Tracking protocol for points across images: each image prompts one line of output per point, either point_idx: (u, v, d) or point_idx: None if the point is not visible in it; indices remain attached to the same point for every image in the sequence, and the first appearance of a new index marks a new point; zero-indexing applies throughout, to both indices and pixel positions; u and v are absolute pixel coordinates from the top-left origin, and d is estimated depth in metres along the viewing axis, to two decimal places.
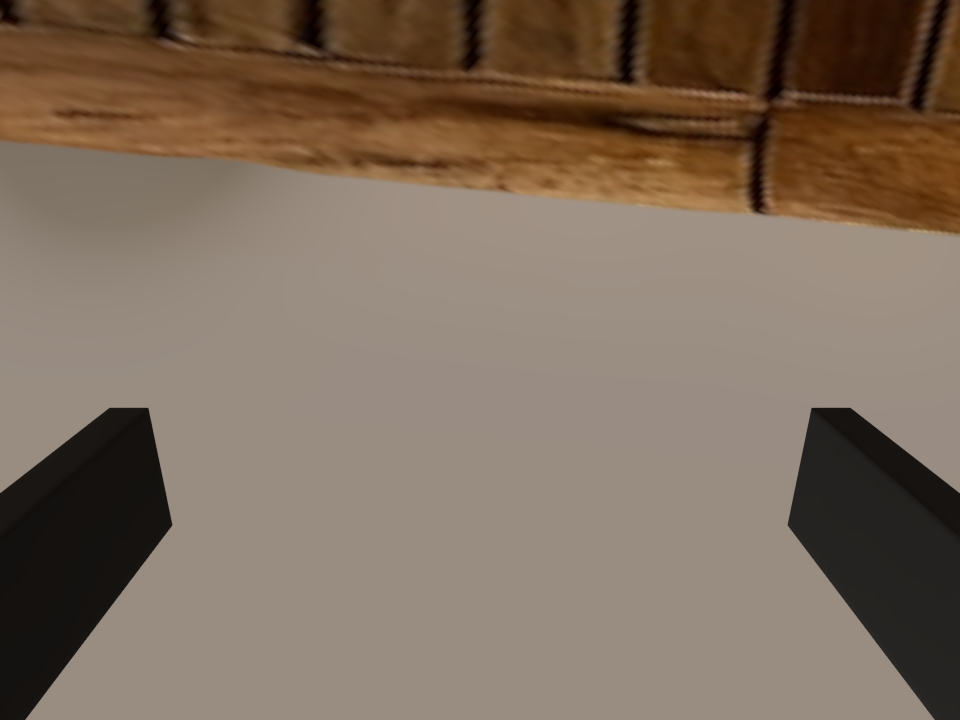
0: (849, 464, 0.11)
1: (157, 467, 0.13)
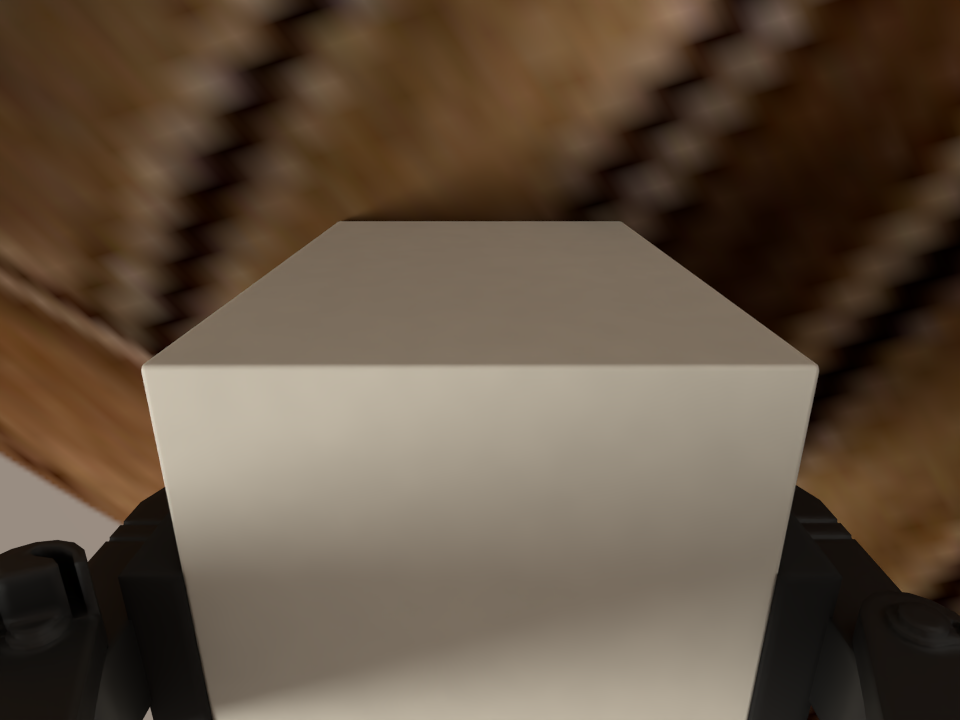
0: None
1: None
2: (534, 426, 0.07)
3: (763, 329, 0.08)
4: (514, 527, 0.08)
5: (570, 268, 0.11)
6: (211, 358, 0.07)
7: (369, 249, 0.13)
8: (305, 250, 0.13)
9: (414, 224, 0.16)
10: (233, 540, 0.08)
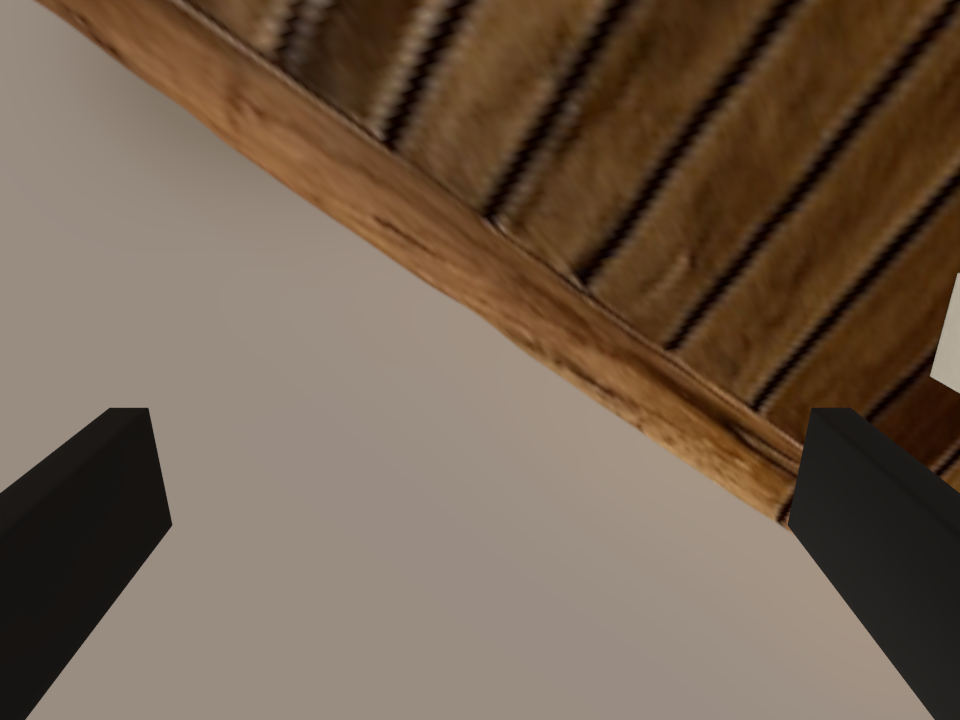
0: (850, 464, 0.11)
1: (157, 467, 0.13)
2: None
3: None
4: None
5: None
6: None
7: None
8: None
9: None
10: None
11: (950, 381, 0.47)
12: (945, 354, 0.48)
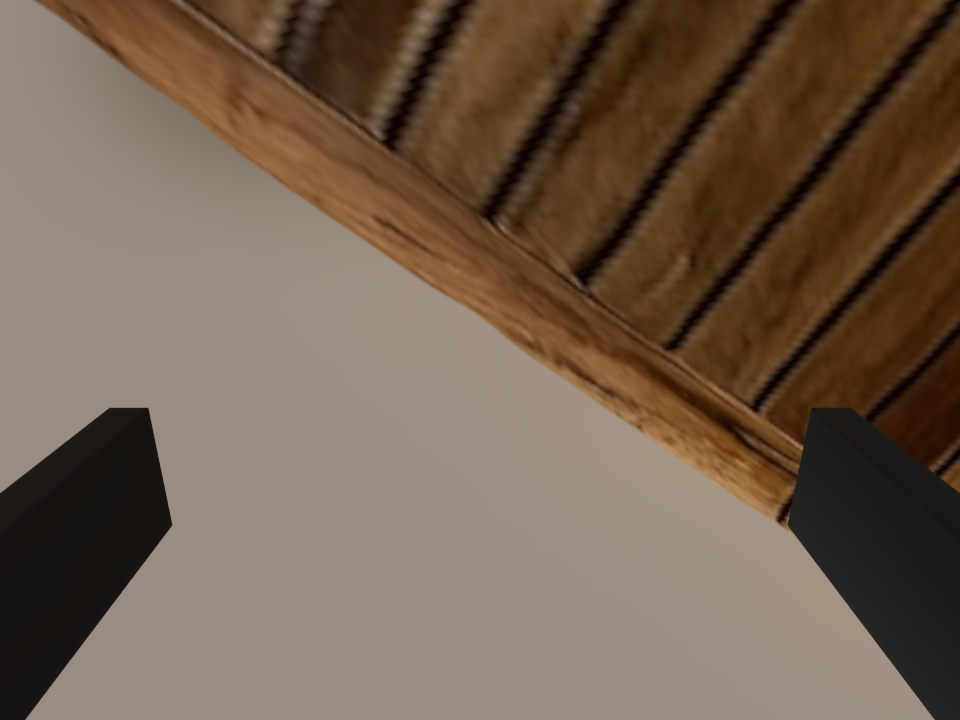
0: (850, 464, 0.11)
1: (157, 467, 0.13)
2: None
3: None
4: None
5: None
6: None
7: None
8: None
9: None
10: None
11: None
12: None
